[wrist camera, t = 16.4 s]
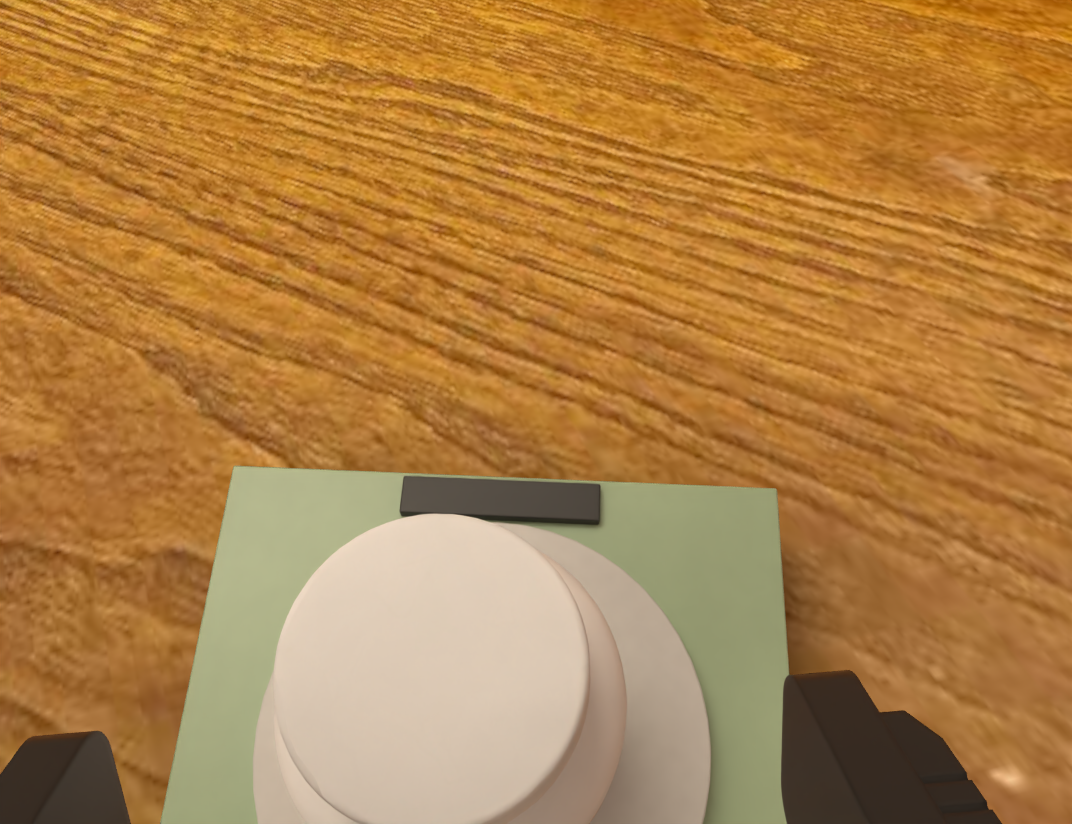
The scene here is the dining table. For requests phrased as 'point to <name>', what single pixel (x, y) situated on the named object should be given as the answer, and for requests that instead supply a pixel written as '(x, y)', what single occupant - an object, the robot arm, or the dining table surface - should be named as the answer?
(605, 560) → the scale
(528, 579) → the supplement bottle
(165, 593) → the dining table surface
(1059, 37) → the dining table surface
